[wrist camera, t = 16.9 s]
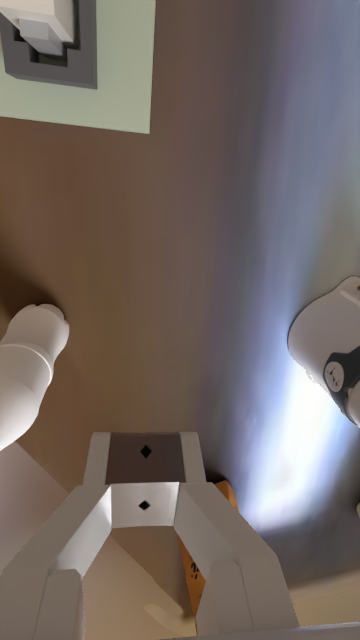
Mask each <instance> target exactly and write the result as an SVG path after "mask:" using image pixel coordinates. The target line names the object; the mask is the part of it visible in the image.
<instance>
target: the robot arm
mask: <svg viewBox="0 0 360 640" xmlns="http://www.w3.org/2000/svg"><path fill="white" fill-rule="evenodd" d="M359 286H360V278H359V277H356V276H351V277H349V278H347V279H345V280H344V281H343V282H342V283H341V284H340V285H339V286H338V287H337V288H336V289H335V290H333V291H332V292H330V293H328V294H326V295H324V296H322V297H320V298H318V299H317V300H315V301H314V302H312V303H311V304H309V305H308V306H307V307H306V308H305V309H304V310H303V311H302V312H301V313H300V314H299V315H298V317H297V318H296V320H295V321H294V323H293V325H292V327H291V330H290V333H289V337H288V347H289V351H290V354H291V356H292V357H293V359H294V360H295V361H296V362H297V363H298V364H299V365H301V366H302V367H303V368H304V369H305V370H306V372H307V374H308V376H309V378H310V379H311V380H312V381H313V382H314V383H316V384H319V385H320V386H321V387H322V388H323V389H324V390H325V391H326V392H327V393H328V394H329V395H330V396H331V397H332V398H333V400H334V401H335V403H336V404H337V405H338V407H339V408H340V409H341V412H342V413H343V414H344V415H345V416H346V417H347V418H348V419H349V420H350V421H351V422H352V423H354V424H356V425H358V427H359V428H360V287H359ZM358 287H359V288H358ZM165 525H174V529H175V530H176V532H177V534H178V535H179V537H180V539H181V540H182V542H183V544H184V545H185V547H186V549H187V550H188V552H189V554H190V555H191V557H192V559H193V560H194V562H195V564H196V565H197V567H198V569H199V570H200V572H201V574H202V575H203V577H204V579H205V580H206V583H205V586H204V590H203V593H202V597H201V600H200V604H199V607H198V611H197V614H196V623H197V633H198V636H194V637H183V638H172V639H161V640H360V621H359V622H348V623H337V624H326V625H315V626H304V627H300V626H299V622H298V619H297V616H296V613H295V610H294V607H293V604H292V601H291V598H290V595H289V591H288V588H287V585H286V582H285V579H284V576H283V573H282V570H281V567H280V564H279V560H278V557H277V555H276V554H275V553H274V552H273V551H272V549H271V548H270V547H269V546H268V545H267V544H266V543H265V542H264V540H263V539H262V538H261V537H260V536H259V535H258V534H257V533H256V531H255V530H254V529H253V528H252V527H251V526H250V525H249V524H248V522H247V521H246V520H245V519H244V518H243V517H242V516H241V515H240V513H239V512H238V511H237V510H236V509H235V508H234V507H233V506H232V504H231V503H230V502H229V501H228V500H227V499H226V498H225V497H224V495H223V494H222V493H221V492H220V491H219V490H218V489H217V488H216V486H215V485H214V484H213V483H212V482H206V476H205V471H204V466H203V460H202V455H201V450H200V444H199V439H198V435H197V433H196V432H148V433H119V432H112V433H107V432H93V435H92V437H91V442H90V447H89V453H88V458H87V464H86V469H85V475H84V480H83V486H76V487H75V488H74V490H73V491H72V492H71V493H70V494H69V495H68V497H67V498H66V499H65V500H64V501H63V502H62V503H61V504H60V506H59V507H58V508H57V509H56V510H55V511H54V512H53V514H52V515H51V516H50V517H49V518H48V519H47V520H46V521H45V523H44V524H43V525H42V526H41V527H40V528H39V529H38V531H37V532H36V533H35V534H34V535H33V536H32V537H31V539H30V540H29V541H28V542H27V543H26V544H25V545H24V546H23V548H22V549H21V550H20V551H19V552H18V553H17V554H16V556H15V557H14V558H13V559H12V560H11V561H10V562H9V564H8V565H7V566H6V567H5V568H4V569H3V570H2V572H1V575H0V640H84V635H85V615H84V603H83V592H82V578H83V576H84V575H85V573H86V571H87V570H88V568H89V566H90V565H91V563H92V561H93V560H94V558H95V556H96V555H97V553H98V551H99V550H100V548H101V546H102V545H103V543H104V541H105V540H106V538H107V536H108V535H109V533H110V531H111V528H120V527H133V526H165Z"/></svg>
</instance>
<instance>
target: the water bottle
mask: <svg viewBox="0 0 360 640" xmlns="http://www.w3.org/2000/svg"><path fill="white" fill-rule="evenodd" d="M68 335H69V324H68V322H67V321H66V320H64V316H63V313H62V312H61V311H60V309H59V308H57V307H55V306H53V305H51V304H41V305H39V306H36V305H35V304H34V305H29V306H26V307H24V308H23V309H21V310H20V311H19V312H18V313H17V314H16V315H15V316H14V317H13V319H12V320H11V322H10V324H9V326H8V329H7V333H6V335H5V336H4V338H3V339H2V340H1V341H0V451H1V450H2V449H4V448H5V447H6V446H8V445H9V444H11V443H12V442H14V441H15V440H16V439H17V438H19V437H20V436H21V435H23V434H24V433H25V432H26V431H27V430H28V429H29V427H30V426H31V425H32V424H33V422H34V420H35V419H36V417H37V414H38V412H39V406H40V404H41V401H42V399H43V396H44V393H45V391H46V388H47V387H48V385H49V384H50V382H51V380H52V376H53V364H54V361H55V359H56V357H57V356H58V354H59V353H60V352H61V351H62V349H63V348H64V347H65V345H66V342H67V339H68Z"/></svg>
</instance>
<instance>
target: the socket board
mask: <svg viewBox="0 0 360 640" xmlns="http://www.w3.org/2000/svg"><path fill="white" fill-rule="evenodd" d="M155 2H156V0H77V27H78V49H71V48H67V57H68V61H62V60H55V59H49V58H45V57H44V56H43V55H42V54H41V53H40V52H38V51H37V50H36V49H35V48H34V47H33V46H32V45H30V44H29V43H28V42H27V41H26V40H25V39H24V38H23V37H21V35H20V30H19V29H18V28H17V27H16V26H15V25H14V24H13V23H12V22H11V21H9V20H8V19H7V18H6V17H5V16H4V15H3V14H2V13H1V12H0V116H2V117H11V118H19V119H28V120H36V121H44V122H53V123H61V124H69V125H78V126H86V127H95V128H103V129H111V130H120V131H128V132H136V133H145V134H149V127H150V106H151V85H152V64H153V44H154V23H155Z"/></svg>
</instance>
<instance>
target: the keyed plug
mask: <svg viewBox="0 0 360 640" xmlns="http://www.w3.org/2000/svg"><path fill="white" fill-rule="evenodd" d="M0 12H1V13H2V14H3V15H4V16H5V17H6V18H7V19H8V20H9V21H11V22H12V23H13V24H14V25H15V26H16V27H17V28H18V29H19V30H20V35H21V37H23V38H24V39H25V40H26V41H27V42H28V43H29V44H30V45H32V46H33V47H34V48H35V49H36V50H37V51H38V52H40V53H41V54H42V55H43V56H44V57H45V58H49V59H55V60H62V61H68V57H67V48H71V49H78V27H77V0H0Z"/></svg>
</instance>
